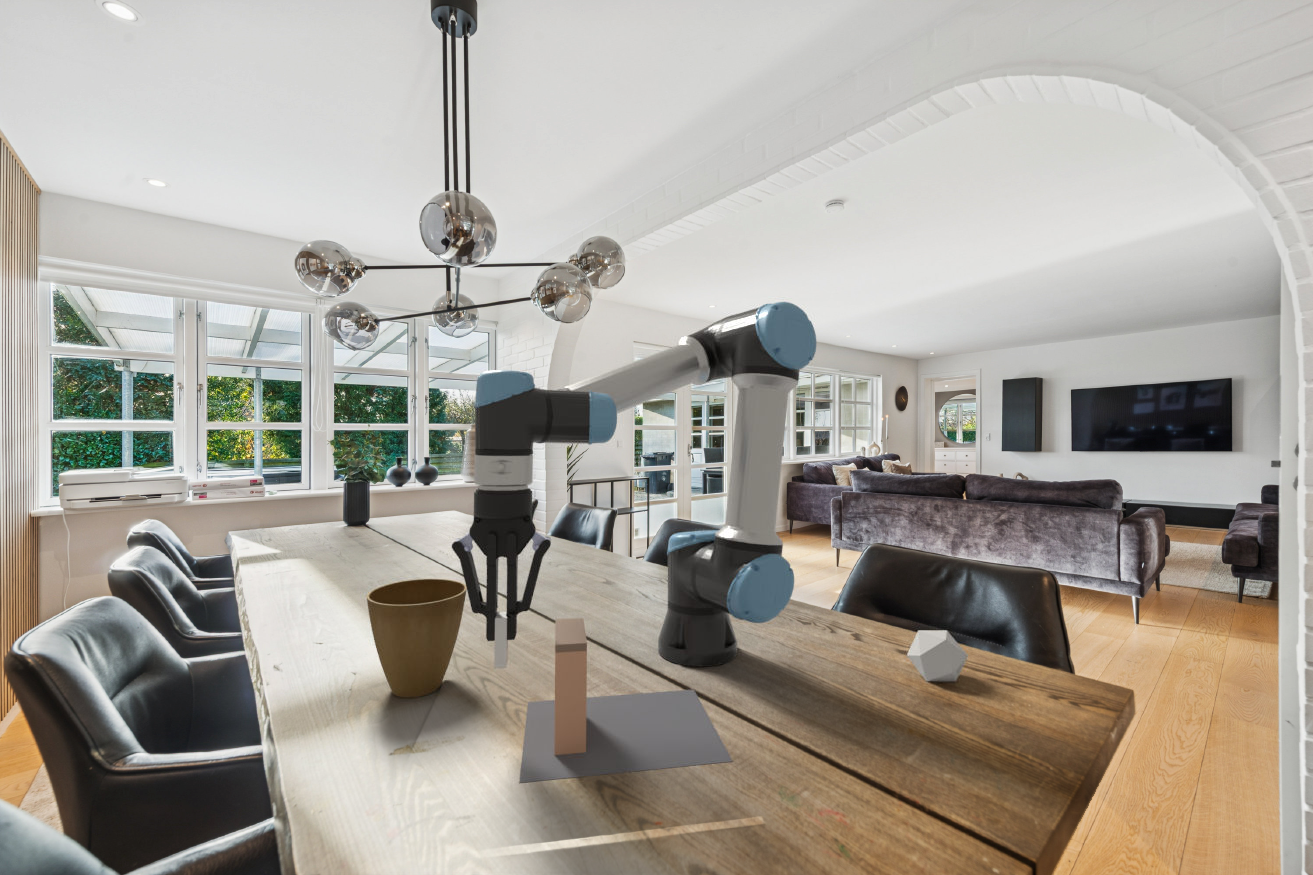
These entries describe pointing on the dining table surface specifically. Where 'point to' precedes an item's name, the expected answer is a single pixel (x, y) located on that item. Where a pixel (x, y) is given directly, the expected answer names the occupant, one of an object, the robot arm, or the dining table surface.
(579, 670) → the pink rectangular block
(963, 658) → the die
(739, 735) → the dining table surface
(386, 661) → the plant pot
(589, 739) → the mat
